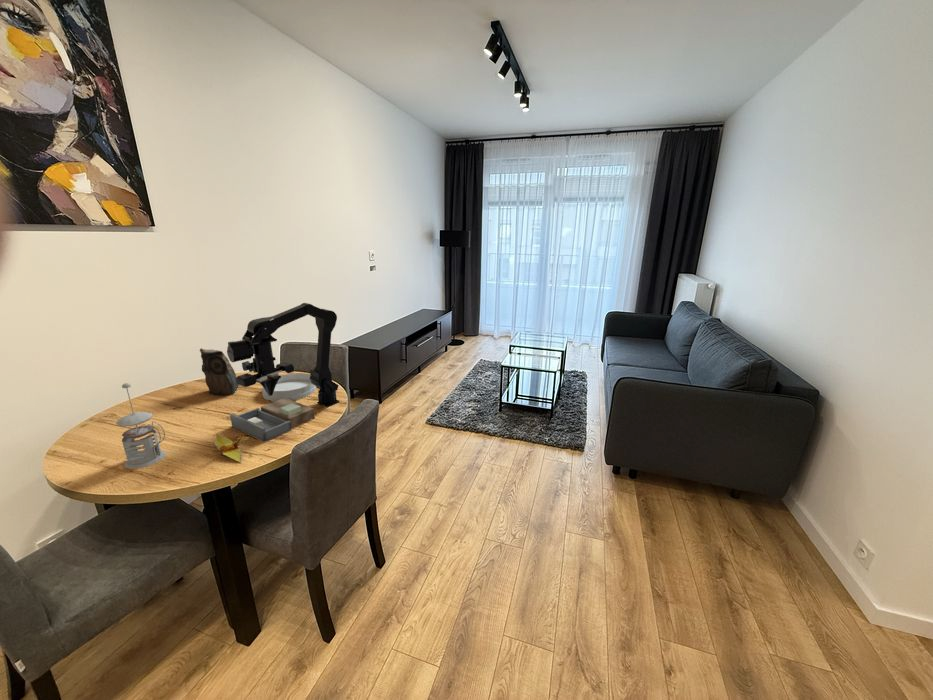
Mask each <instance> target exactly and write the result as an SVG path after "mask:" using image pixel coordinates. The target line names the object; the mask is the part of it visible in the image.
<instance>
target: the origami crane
mask: <svg viewBox="0 0 933 700" xmlns="http://www.w3.org/2000/svg"><path fill="white" fill-rule="evenodd" d="M248 439H249V436H246V435H245V436H241V435H240V437H238V438H237V440H236V441H235V442H233V441H232V440H231V439H230V438H227V437H224V436H222V435H220V434H219V433H216V434H215V443H213V447H214V448H216V449H217V450H218V452H220V455H221V456H226V457H228V458H230V459H232V460H234V461H236V462H238V463H240V464H242V448H240V445H241V443H242V442H243V441H244V442H245V441H247V440H248Z"/></svg>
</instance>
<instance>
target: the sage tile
mask: <svg viewBox="0 0 933 700" xmlns="http://www.w3.org/2000/svg"><path fill="white" fill-rule="evenodd" d="M300 411H301V406H299V405H296V404H293V403H291V404H289V405H286V406H284V407H281V408H280V412H281V413H282V414H285V415H287V416H291V415H293V414H295V413H298V412H300Z"/></svg>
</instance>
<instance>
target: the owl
mask: <svg viewBox="0 0 933 700" xmlns="http://www.w3.org/2000/svg"><path fill="white" fill-rule="evenodd" d="M199 352H200V357H201V361H202V362H201V363H202V364H201V371H202V373H203V374H204V376H205V377H204V378H205V379H204V380H205V384H206V386H207V388H208V394H209V395H214V396H218V397H220V396H221V397H223V396H233V395H235V394H236V392H237V391H238V389H239V388H238V386H239V387H240V385H238V384H237V382H236V378H237V376H238V375H237V374H236V372H235V369H234V368H233V366H232V365H231V363H230V359H229V357H228V356H227V355H225V353H224V352H223V351H222V350H218V349H204V348H200V349H199ZM237 388H238V389H237ZM235 391H236V392H235ZM234 393H235V394H234Z"/></svg>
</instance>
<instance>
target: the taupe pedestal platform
mask: <svg viewBox="0 0 933 700" xmlns="http://www.w3.org/2000/svg"><path fill="white" fill-rule="evenodd" d="M291 403H293V404H296V405H299V406H301V411H300V412H298V413H295V414H293V415H291V416H287V415H285V414H282V413H281V412H280V408H281V407H284V406H286V405H289V404H291ZM260 410H262V411H264V412H266V413H269V414H271V415H274V416H276V417H279V418H281V419H283V420H286V421H291V429H293V428H295V427H298V426H301V425H302V424H304V423H307V422H309V421H311V420H313V419H315V408H314V407H311V406H308V405H305V404H303V403H301V402H297V401H296V400H293V401H292V400H289V399H286V398H283V399H280V400H278V401H271V403H268V404H264V405H262V406H260Z"/></svg>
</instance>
